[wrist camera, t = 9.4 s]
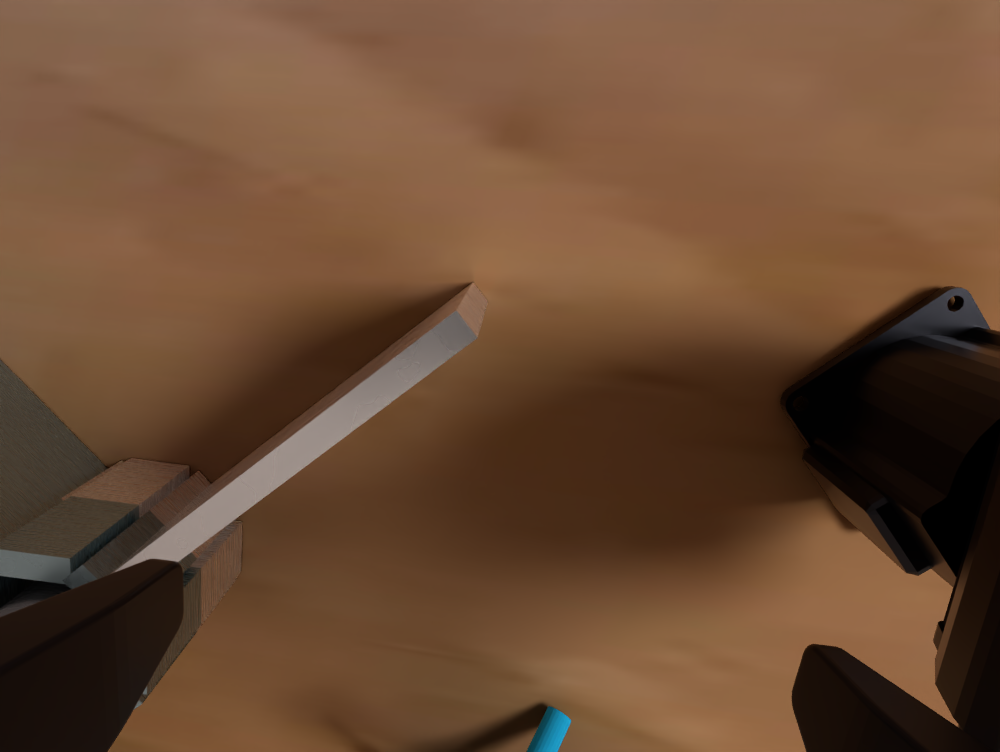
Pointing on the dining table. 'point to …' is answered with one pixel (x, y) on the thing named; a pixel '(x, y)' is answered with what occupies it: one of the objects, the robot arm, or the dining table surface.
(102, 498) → the hinge fixture
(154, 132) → the dining table surface
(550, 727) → the gear
